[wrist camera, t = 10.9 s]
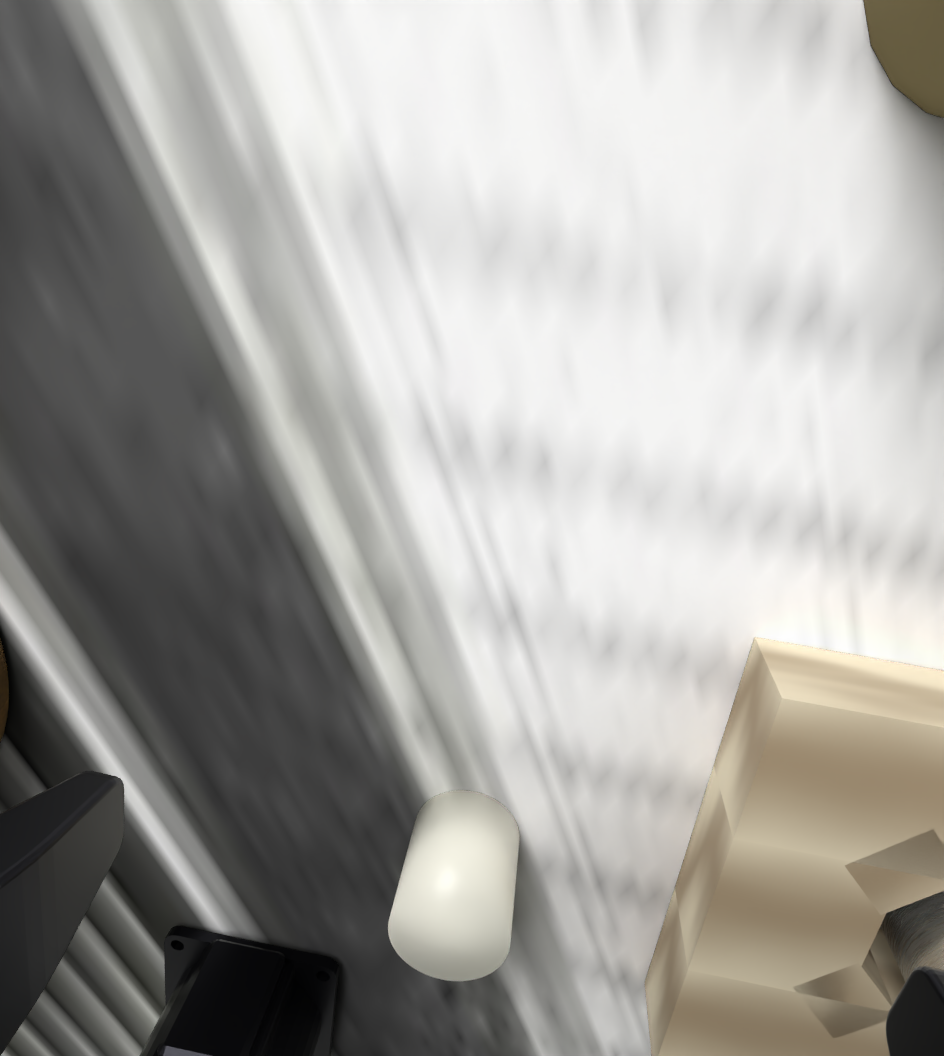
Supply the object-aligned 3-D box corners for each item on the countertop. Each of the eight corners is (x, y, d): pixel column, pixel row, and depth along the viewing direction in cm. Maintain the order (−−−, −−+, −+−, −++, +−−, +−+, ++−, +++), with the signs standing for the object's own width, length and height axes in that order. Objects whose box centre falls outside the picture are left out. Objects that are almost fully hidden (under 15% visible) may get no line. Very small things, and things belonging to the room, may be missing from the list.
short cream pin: (511, 882, 26) (500, 992, 22) (409, 862, 26) (382, 966, 22) (527, 801, 24) (519, 903, 21) (421, 780, 25) (393, 878, 21)
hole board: (1057, 1068, 26) (1116, 1169, 23) (644, 982, 27) (652, 1070, 24) (1279, 730, 20) (1389, 809, 18) (754, 637, 21) (782, 697, 19)
